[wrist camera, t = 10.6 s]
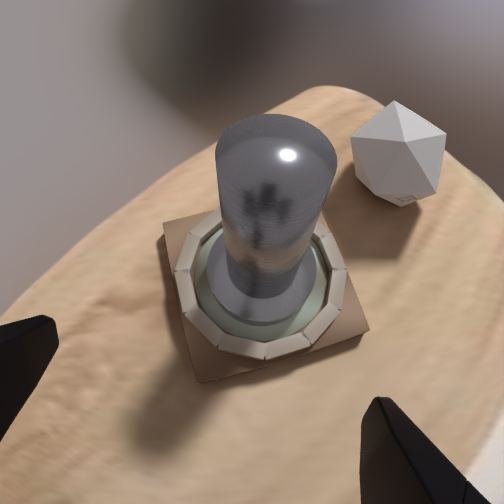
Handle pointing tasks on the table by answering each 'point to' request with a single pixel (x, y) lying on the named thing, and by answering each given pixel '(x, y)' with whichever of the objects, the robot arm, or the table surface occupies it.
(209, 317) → the board
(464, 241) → the table surface
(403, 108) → the die
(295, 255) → the silver round peg
